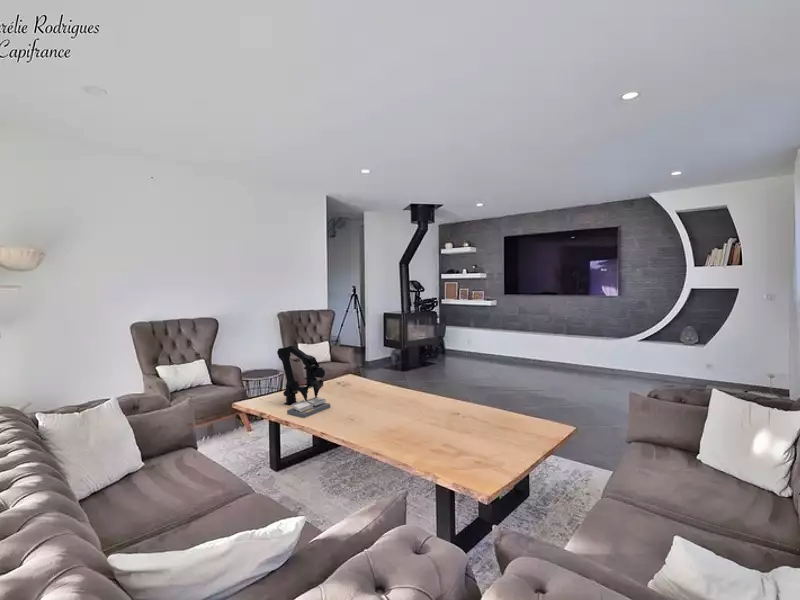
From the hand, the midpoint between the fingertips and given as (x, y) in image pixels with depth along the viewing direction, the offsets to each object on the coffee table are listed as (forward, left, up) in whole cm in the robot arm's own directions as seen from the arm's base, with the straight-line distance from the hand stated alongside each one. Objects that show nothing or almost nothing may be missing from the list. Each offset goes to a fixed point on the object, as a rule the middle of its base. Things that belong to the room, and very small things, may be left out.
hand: (311, 399), depth 271 cm
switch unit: (+4, -6, -6) cm, 9 cm away
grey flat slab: (+4, -12, -1) cm, 13 cm away
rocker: (+4, 0, -1) cm, 4 cm away
